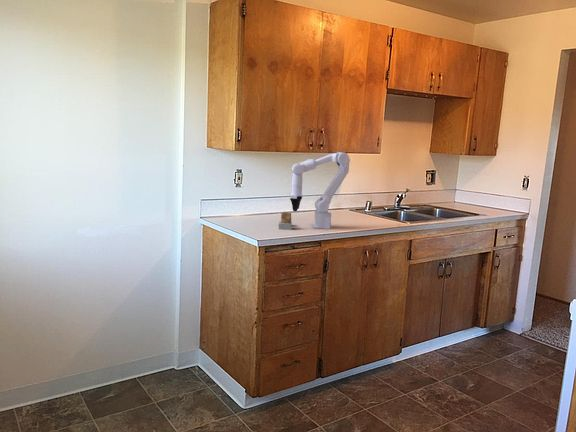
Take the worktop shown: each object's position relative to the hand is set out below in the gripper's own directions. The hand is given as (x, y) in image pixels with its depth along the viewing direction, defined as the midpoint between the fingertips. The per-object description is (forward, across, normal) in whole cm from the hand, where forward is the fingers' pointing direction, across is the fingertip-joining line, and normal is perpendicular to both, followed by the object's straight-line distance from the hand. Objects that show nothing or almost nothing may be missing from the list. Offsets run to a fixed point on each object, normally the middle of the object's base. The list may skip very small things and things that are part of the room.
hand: (295, 210), depth 273 cm
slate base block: (+10, +7, -5) cm, 13 cm away
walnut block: (+6, +6, -4) cm, 10 cm away
